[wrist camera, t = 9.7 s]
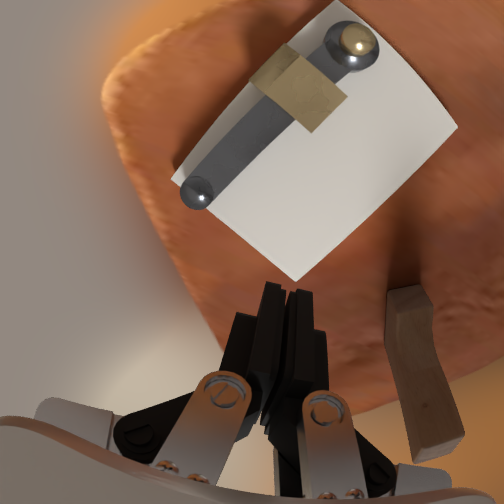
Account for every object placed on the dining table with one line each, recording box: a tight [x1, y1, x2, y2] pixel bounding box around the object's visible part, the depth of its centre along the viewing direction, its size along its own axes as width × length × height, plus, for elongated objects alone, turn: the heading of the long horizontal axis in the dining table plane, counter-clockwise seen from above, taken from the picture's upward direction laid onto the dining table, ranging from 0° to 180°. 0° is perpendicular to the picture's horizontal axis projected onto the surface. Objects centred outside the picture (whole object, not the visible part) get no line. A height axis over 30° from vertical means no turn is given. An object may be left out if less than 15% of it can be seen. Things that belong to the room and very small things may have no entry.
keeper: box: [248, 23, 376, 133], centre depth 18 cm, size 9×6×5 cm, turn 140°
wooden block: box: [384, 285, 465, 464], centre depth 24 cm, size 9×4×18 cm, turn 13°
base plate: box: [171, 0, 458, 282], centre depth 24 cm, size 23×16×2 cm
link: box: [180, 21, 380, 210], centre depth 21 cm, size 22×4×2 cm, turn 136°
